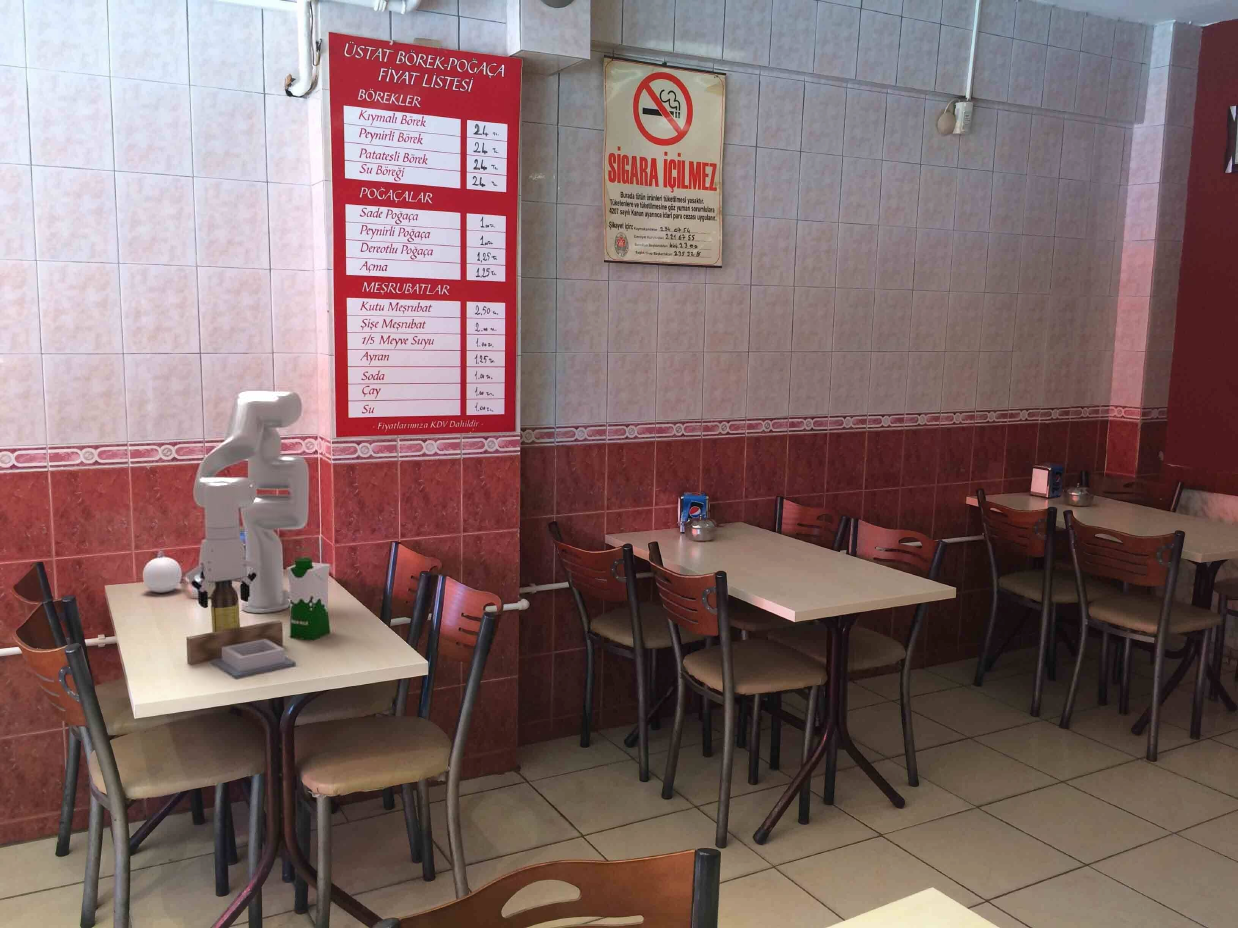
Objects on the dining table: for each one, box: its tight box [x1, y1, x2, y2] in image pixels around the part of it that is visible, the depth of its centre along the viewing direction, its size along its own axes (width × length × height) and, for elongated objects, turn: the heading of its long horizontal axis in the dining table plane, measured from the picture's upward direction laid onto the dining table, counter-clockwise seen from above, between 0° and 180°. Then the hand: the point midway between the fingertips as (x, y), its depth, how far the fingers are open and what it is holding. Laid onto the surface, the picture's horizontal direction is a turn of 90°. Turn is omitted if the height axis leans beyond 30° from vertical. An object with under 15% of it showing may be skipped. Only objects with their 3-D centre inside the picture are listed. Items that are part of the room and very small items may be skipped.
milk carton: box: [286, 557, 331, 641], centre depth 251 cm, size 9×9×20 cm
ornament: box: [142, 550, 183, 594], centre depth 291 cm, size 10×10×12 cm
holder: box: [210, 639, 297, 680], centre depth 229 cm, size 14×14×4 cm
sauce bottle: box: [210, 580, 241, 632], centre depth 240 cm, size 6×6×20 cm
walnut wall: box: [185, 619, 284, 665], centre depth 236 cm, size 22×2×6 cm, turn 132°
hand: (224, 603), depth 239 cm, fingers open, 9 cm apart
